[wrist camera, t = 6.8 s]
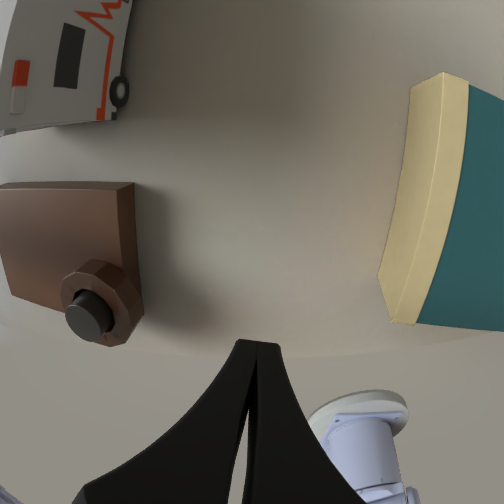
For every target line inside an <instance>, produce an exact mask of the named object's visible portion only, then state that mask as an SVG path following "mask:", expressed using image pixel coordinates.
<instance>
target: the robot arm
mask: <svg viewBox="0 0 504 504" xmlns="http://www.w3.org/2000/svg"><path fill="white" fill-rule="evenodd" d="M248 409H249V419H248V421H249V422H248V452H247V469H246V478H245V485H244V492H243V499H242V504H407V503H408V504H420V499H419V495H418V491H417V489H415V488H412V487H407V488H406V492H407V503H406V497H405V492H404V485H403V482H402V479H401V474H400V469H399V464H398V460H397V455H396V450H395V446H394V441H393V437H392V433H391V430H392V428H393V427H394V426H395V424H396V423H397V422H398V421H399V419H400V418H401V416H402V415H403V413H402V411H390V412H371V413H337V414H335V415H334V417H333V419H332V421H331V423H330V425H329V426H328V428H327V430H326V432H325V434H324V435H323V437H322V439H321V441H320V443H319V442H318V440H317V438H316V437H315V435H314V433H313V431H312V430H311V428H310V426H309V424H308V422H307V420H306V418H305V416H304V414H303V412H302V410H301V408H300V406H299V403H298V401H297V399H296V396H295V394H294V391H293V389H292V387H291V384H290V381H289V378H288V375H287V372H286V369H285V366H284V362H283V358H282V354H281V348H280V346H279V345H278V344H277V343H268V342H260V341H252V340H245V339H239V340H237V341H236V343H235V345H234V348H233V350H232V352H231V354H230V355H229V357H228V359H227V361H226V362H225V364H224V365H223V367H222V369H221V370H220V372H219V373H218V374H217V376H216V377H215V379H214V380H213V382H212V383H211V384H210V386H209V387H208V388H207V389H206V391H205V392H204V393H203V394H202V396H201V397H200V398H199V399H198V400H197V402H196V403H195V404H194V405H193V406H192V407H191V408H190V410H188V412H187V413H186V414H185V415H184V416H183V417H182V418H181V419H180V420H179V421H178V422H177V423H176V424H175V425H173V426H172V427H171V428H170V429H169V430H168V431H167V432H166V433H164V434H163V435H162V436H161V437H160V438H159V439H157V440H156V441H155V442H154V443H152V444H151V445H150V446H149V447H147V448H146V449H145V450H143V451H142V452H140V453H139V454H137V455H136V456H134V457H133V458H132V459H130V460H129V461H127V462H125V463H124V464H122V465H121V466H119V467H117V468H116V469H114V470H112V471H110V472H108V473H106V474H105V475H103V476H101V477H99V478H97V479H95V480H93V481H91V482H89V483H87V484H85V485H84V486H83V487H82V489H81V490H80V491H79V493H78V494H77V496H76V497H75V499H74V501H73V502H72V504H228V497H229V491H230V486H231V479H232V473H233V468H234V464H235V459H236V456H237V452H238V448H239V444H240V441H241V437H242V433H243V429H244V425H245V421H246V416H247V413H248ZM0 504H23V503H21V502H20V501H19V500H17V499H16V498H15V497H13V496H12V495H11V494H9V493H8V492H7V491H6V490H5V488H4V487H2V486H1V485H0Z"/></svg>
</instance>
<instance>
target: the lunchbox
mask: <svg viewBox="0 0 504 504" xmlns="http://www.w3.org/2000/svg"><path fill="white" fill-rule="evenodd" d="M377 277H378V280H379V283H380V286H381V289H382V292H383V295H384V299H385V302H386V305H387V309H388V312H389V315H390V319H391V322H392V323H399V324H407V325H415V323H422V324H430V325H439V326H448V327H457V328H467V329H478V330H489V331H501V332H502V331H503V332H504V101H503V100H501V99H499V98H497V97H495V96H493V95H491V94H489V93H487V92H485V91H482V90H480V89H478V88H476V87H473V86H471V85H469V82H468V81H466V80H464V79H461V78H459V77H456V76H453V75H451V74H448V73H445V72H441V73H439V74H437V75H435V76H433V77H431V78H429V79H427V80H425V81H423V82H421V83H419V84H417V85H415V86H414V87H412V88H410V103H409V114H408V125H407V133H406V142H405V149H404V156H403V163H402V169H401V175H400V181H399V187H398V192H397V197H396V203H395V207H394V212H393V217H392V221H391V226H390V230H389V234H388V239H387V243H386V247H385V250H384V254H383V258H382V262H381V265H380V269H379V273H378V276H377Z"/></svg>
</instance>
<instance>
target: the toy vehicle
mask: <svg viewBox="0 0 504 504" xmlns="http://www.w3.org/2000/svg"><path fill="white" fill-rule="evenodd" d="M132 2H133V0H0V137H1V136H5V135H10V134H14V133H16V132H22V131H29V130H35V129H41V128H47V127H54V126H61V125H68V124H76V123H85V122H95V121H107V120H116V110H117V108H118V107H122V106H124V104H125V103H126V101H127V99H128V94H129V84H128V82H127V79H126V78H125V77H124V76H123V75H122V76H120V69H121V62H122V55H123V48H124V42H125V36H126V31H127V25H128V20H129V15H130V11H131V6H132Z"/></svg>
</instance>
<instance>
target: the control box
mask: <svg viewBox="0 0 504 504" xmlns="http://www.w3.org/2000/svg"><path fill="white" fill-rule="evenodd" d="M0 254H1V259H2V263H3V267H4V270H5V274H6V278H7V281H8V284H9V288H10V291H11V294H12V295H13V296H16V297H19V298H21V299H24V300H27V301H30V302H33V303H36V304H39V305H42V306H45V307H48V308H51V309H54V310H57V311H60V312H63V313H65V311H66V308H67V307H68V306H69V305H70V304H71V303H72V302H73V301H74V300H75V299H76V298H77V297H78V296H79V295H80V294H81V293H82V292H84V291H93V292H95V293H96V294H98V295H99V296H100V297H102V298H103V299H104V300H105V301H106V302H107V304H108V305H109V307H110V308H111V310H112V313H113V321H112V323H111V324H110V326H109V327H108V328H107V330H106V331H105V332H104V334H103V335H102V336H101V338H100V339H99V340H98V341H95V343H98V344H101V345H105V346H108V347H113V346H117V345H120V344H124V343H126V341H127V340H128V338H129V337H130V335H131V334H132V332H133V331H134V329H135V328H136V326H137V324H138V322H139V321H140V319H141V318H142V316H143V315H144V311H143V303H142V295H141V287H140V278H139V268H138V257H137V244H136V229H135V208H134V183H129V182H21V183H5V184H3V185H0Z"/></svg>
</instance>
